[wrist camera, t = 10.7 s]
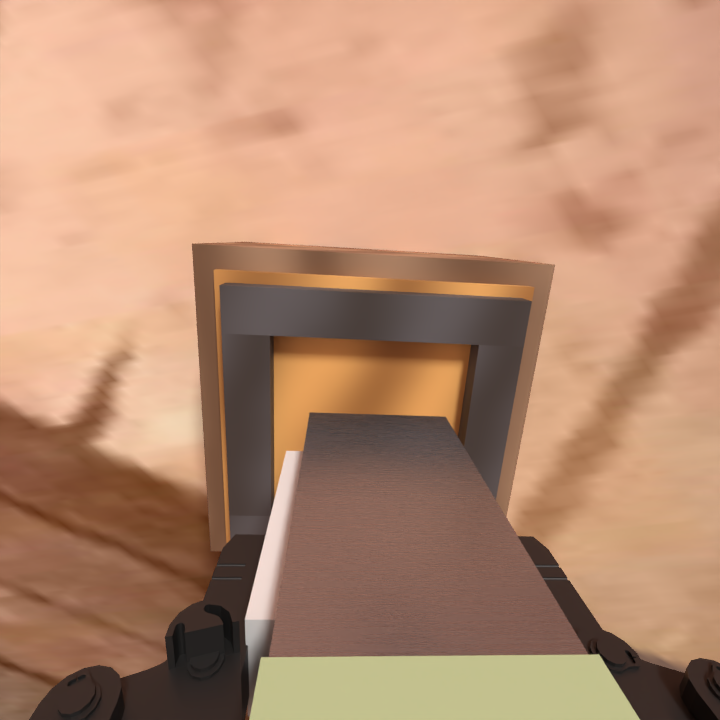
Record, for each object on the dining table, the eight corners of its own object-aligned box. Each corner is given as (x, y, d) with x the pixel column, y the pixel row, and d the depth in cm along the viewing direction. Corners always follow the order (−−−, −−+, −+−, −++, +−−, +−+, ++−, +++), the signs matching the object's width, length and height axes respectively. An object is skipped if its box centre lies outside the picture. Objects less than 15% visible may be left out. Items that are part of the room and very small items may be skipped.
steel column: (448, 414, 15) (835, 1033, 3) (433, 531, 16) (661, 1239, 5) (307, 409, 14) (181, 1083, 3) (304, 529, 16) (215, 1286, 4)
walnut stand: (480, 255, 28) (573, 267, 17) (451, 460, 32) (509, 575, 21) (245, 242, 27) (178, 244, 16) (250, 455, 31) (201, 573, 20)
